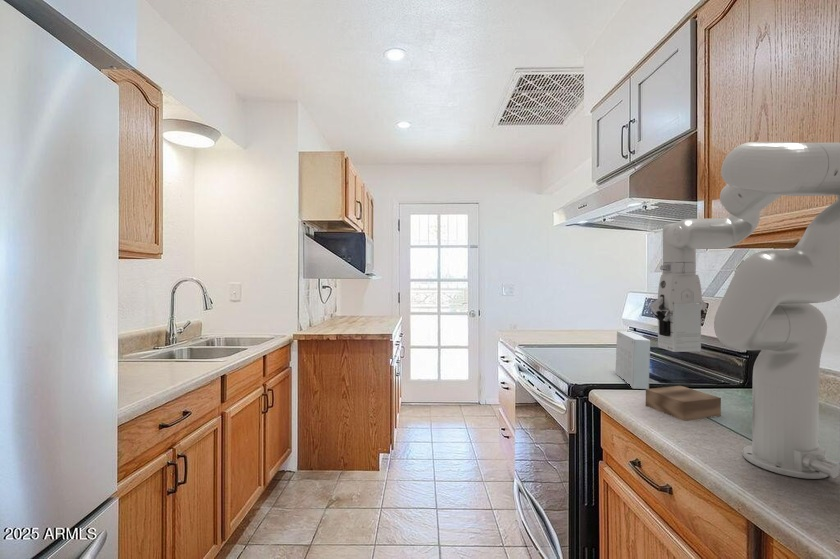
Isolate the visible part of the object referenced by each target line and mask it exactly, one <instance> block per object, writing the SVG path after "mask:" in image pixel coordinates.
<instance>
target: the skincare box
mask: <svg viewBox="0 0 840 559" xmlns="http://www.w3.org/2000/svg"><path fill="white" fill-rule="evenodd" d="M615 352H616V353H615V371H614V372H615V375H616V376H618V377H619V376H620V377H621V378H622V379H624V380H625V381H626V382H628V383H629V384H630V386H631V387H630V386H629V387H630V388H632V389H636V390H639V389H640V390H646V389H650V363H651V360H650V359H651V339H648V338H646V337H643V336H642V335H639V334H637V333H634V332H633V331H625V330H617V331H616V349H615ZM620 377H619V378H620ZM621 378H620V379H621ZM622 379H621V380H622ZM624 380H623V381H624ZM625 381H624V382H625ZM626 382H625V383H626Z"/></svg>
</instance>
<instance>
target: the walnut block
mask: <svg viewBox="0 0 840 559" xmlns="http://www.w3.org/2000/svg"><path fill="white" fill-rule="evenodd" d="M645 407H649V408H650V409H653V410H656V411H659V412H661V413H663V414H666V415H668V416H671V417H673V418H676V419H678V420H681V421H691V420H700V419H706V418H707V417H708V418H712V417H711V416H716V417H721V415H722V397H719V396H717V395H713V394H710V393H705V392H703V391H699V390H696V389H693V388H689V387H687V386H682V385H674V386H665V387H664V386H663V387H653V388H649V389H645Z"/></svg>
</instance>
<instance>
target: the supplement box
mask: <svg viewBox="0 0 840 559" xmlns="http://www.w3.org/2000/svg"><path fill="white" fill-rule="evenodd" d="M663 305H664V309H666V306H665V303H663V304H662V307H663ZM660 311H661V310H660ZM665 314H666V312H665ZM665 314H664V315H665ZM668 321H670V336H663V335H660V334H659V320H657V347H658V348H660V349H663V350H667V351H669V352H673V353H680V352H682V353H683V352H701V351H702V316H701V304H699V303H688V304H687V303H686V304H673V312H671V311H670V318H669V319H668Z"/></svg>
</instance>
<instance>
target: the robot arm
mask: <svg viewBox="0 0 840 559" xmlns="http://www.w3.org/2000/svg"><path fill="white" fill-rule="evenodd" d="M720 175H721V178H722V180H723V182H724V184H726V185H725V186H724V187H723V188H722V189H721V191H720V193H719V201H720V204H721V206H722V207H723V209H724V210H725V211H727V212H728V213H729V215H728V216H726V217H724V218H685V219H682V220H680V221H678V222H674V223H668V224H665V225H664V226H663V228H662V265H660V266H659V269H660V270H661V271H662V275H660V278H659V283H658V288H657V289H658V291H657V299H655V301H653V302H652V303H651V304H650V305H649V308H650V310H651V311H652V312H653V315H654V316H655V318H656V320H657V321H658V320H659V334H660V335H663V336H670V321H668V319H669V318H670V311H671V312H673V304H686V303H687V304H688V303H699V304H701V317H702V316H703V315H704V314H705V311H706V309H707V307H708V303H706V302H705V301H704V300H703V294H702V293H703V292H702V286H701V279H700V276H699V274H696V270H697V268H696V264H697V263H696V262H697V259H696V258H697V257H696V256H697V254H696V252H697V250H718V249H719V250H721V249H727V248H731V247H733V246H735V245H737V244H739V243H741V242H743V241H744V240H745V239H746V238H748V237H750V235H752V234H754V232H755V231H756V229H757V227H758V226H759V223H760V220H761V211H763V210H764V209H765V208H767V207H768V206H770V205H771V204H772V203H774V202H775V201H776V200H778V199H779V198H781V197H782V196H788V197H789V196H790V197H793V196H794V197H815V196H817V197H819V196H820V197H821V196H822V197H826V196H836V197H837V199H836V201H834V202H833V203H831V204H830V205H829V206H828V207H826V208H824V209H823V210H822V211H821V212H819V213H818V214H817V215H816V216H815V217H814V219H812V220H811V222H810V223H809V224H808V226H807V227H806V229H805V232H804V233H803V235H802V236H801V238H800V239H799V241H798V242H797V244H796V245H795V246H794V247H792V248H789V249H777V250H775V249H772V250H763V251H758V252H756V253H753V254H752V255H749V256H748V257H746V258H745V259H744V260H743V261H742V262H741V263H740V264H739V266H738V267H737V269H736V271H735V273H734V274H733V276H732V279H731V280H730V282H729V285H728V287H727V289H726V291H725V293H724V295H723V297H722V299H721V301H720V303H719V306H718V308H717V310H716V312H715V315H714V321H713V329H714V334H715V336H716V338H717V339H718V341H719V342H720V343H721V344H723V345H724V346H726V348H727V347H728V348H730V349H733V350H738V351H739V350H740V351H760V352H759V353H758V356H757V357H756V359H755V361H754V364H753V369H752V422H751V423H752V425H751V426H752V428H751V430H752V439H751V440H752V442H751V443H752V444H749V445H745V446H744V447H742V456H743V458H745V459H746V461H748V462H749V463H751V464H753V465H755V466H756V467H759V468H761V469H763V470H766V471H769V472H773V473H775V474H779V475H782V476H787V477H793V478H798V479H807V480H809V479H811V480H817V479H818V480H819V479H820V480H821V479H825V478H827V477H830V478H834V479H835V478H837V477H839V475H840V463H838V462H836V461H833V460H829V459H827V457H826V449H824V448H821V447H819V432H820V431H819V429H820V428H819V422H820V421H819V416H820V415H819V414H820V411H819V409H820V408H819V407H820V406H819V404H820V403H819V402H820V400H819V399H820V398H819V392H820V391H819V390H820V365H821V357H822V354H823V348H824V345H825V342H826V339H827V333H828V325H827V320H826V317H825V316H824V314H823V312H822V311H821V310H820V309H819V308H817V307H816V306H815V305H814V304H819V303H827V302H831V301H832V300H834V299H836V298H838V296H840V142H795V141H748V142H745V143H742V144H739V145H738V146H736V147H735V148H733V149H731V151H730V152H729V153H728V154H727V155H726V156H725V158H724V160H723V162H722V165H721V170H720ZM663 303H665V306H666V309H664V305H663V307H662V304H663ZM660 310H661V311H660ZM665 312H666V314H665ZM664 314H665V315H664Z"/></svg>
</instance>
